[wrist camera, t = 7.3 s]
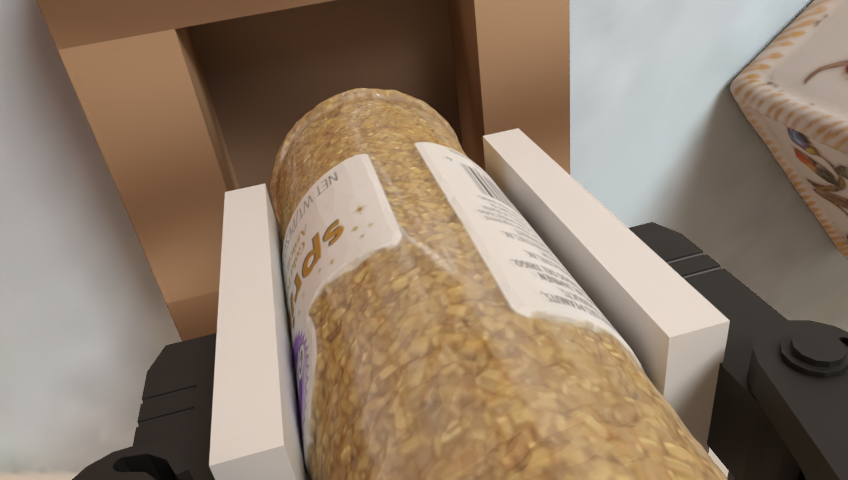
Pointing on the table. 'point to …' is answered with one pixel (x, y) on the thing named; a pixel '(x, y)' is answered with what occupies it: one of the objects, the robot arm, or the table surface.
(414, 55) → the socket board
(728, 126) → the table surface
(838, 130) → the decorative jar
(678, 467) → the sprinkles bottle
